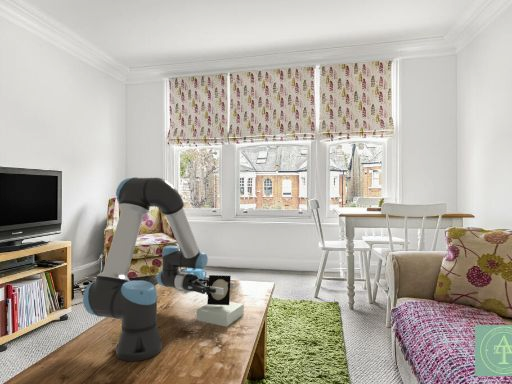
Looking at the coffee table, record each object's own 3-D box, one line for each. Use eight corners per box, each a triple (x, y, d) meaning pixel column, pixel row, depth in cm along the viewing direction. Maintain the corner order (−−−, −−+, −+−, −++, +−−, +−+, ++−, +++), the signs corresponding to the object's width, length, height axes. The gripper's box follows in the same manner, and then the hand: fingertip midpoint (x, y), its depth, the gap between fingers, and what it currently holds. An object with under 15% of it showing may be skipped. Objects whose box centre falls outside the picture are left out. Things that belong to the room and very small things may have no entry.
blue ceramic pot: (188, 291, 184) (189, 271, 184) (177, 283, 196) (178, 265, 195) (208, 287, 192) (209, 268, 192) (196, 280, 203) (197, 262, 203)
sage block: (226, 327, 136) (226, 315, 136) (196, 321, 143) (196, 309, 143) (243, 315, 150) (243, 304, 150) (215, 309, 156) (215, 299, 156)
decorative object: (210, 303, 150) (231, 304, 149) (205, 304, 140) (228, 305, 140) (212, 275, 153) (233, 276, 152) (207, 275, 144) (229, 275, 143)
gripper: (200, 283, 164) (240, 290, 154) (171, 296, 144) (215, 305, 135) (200, 268, 164) (240, 274, 154) (171, 279, 144) (215, 286, 134)
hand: (228, 288), depth 144 cm, fingers closed on decorative object, 9 cm apart
